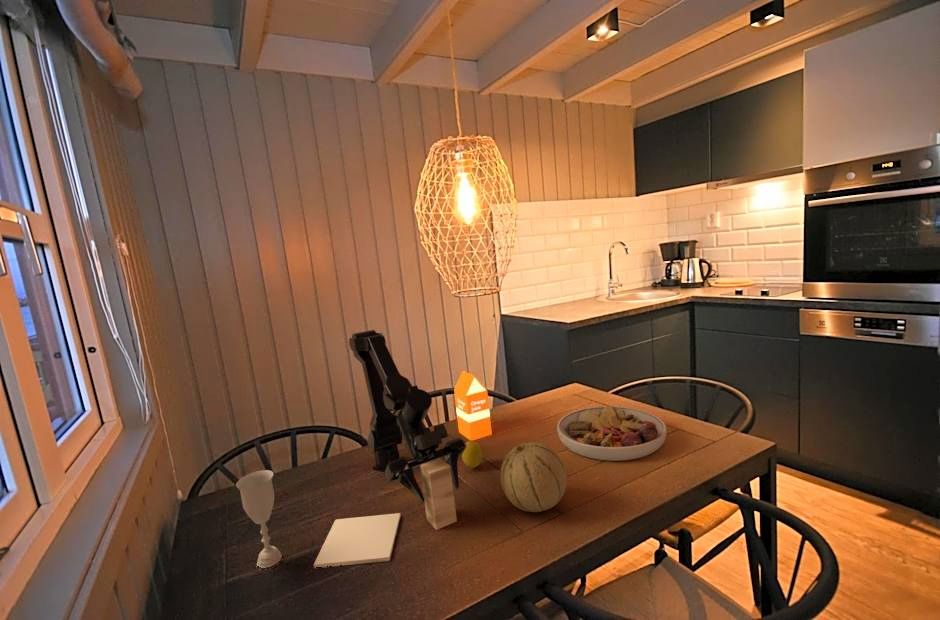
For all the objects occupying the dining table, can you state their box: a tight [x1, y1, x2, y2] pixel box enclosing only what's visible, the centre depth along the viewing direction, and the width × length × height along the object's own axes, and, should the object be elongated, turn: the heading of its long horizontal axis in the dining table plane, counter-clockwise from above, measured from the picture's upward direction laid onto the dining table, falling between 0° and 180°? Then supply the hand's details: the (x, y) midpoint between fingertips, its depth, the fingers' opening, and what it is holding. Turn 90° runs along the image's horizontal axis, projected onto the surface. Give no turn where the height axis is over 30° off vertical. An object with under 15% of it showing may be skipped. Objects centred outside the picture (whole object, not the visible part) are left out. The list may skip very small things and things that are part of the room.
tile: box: [313, 512, 401, 569], centre depth 97 cm, size 15×15×1 cm
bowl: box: [556, 405, 667, 462], centre depth 131 cm, size 30×30×8 cm
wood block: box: [419, 458, 458, 531], centre depth 100 cm, size 5×5×13 cm
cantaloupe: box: [500, 441, 568, 513], centre depth 102 cm, size 15×15×15 cm
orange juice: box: [453, 370, 493, 441], centre depth 145 cm, size 8×9×20 cm
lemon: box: [461, 440, 483, 469], centre depth 123 cm, size 6×6×8 cm
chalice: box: [235, 469, 283, 568], centre depth 92 cm, size 7×7×18 cm
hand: (441, 495), depth 99 cm, fingers open, 8 cm apart
